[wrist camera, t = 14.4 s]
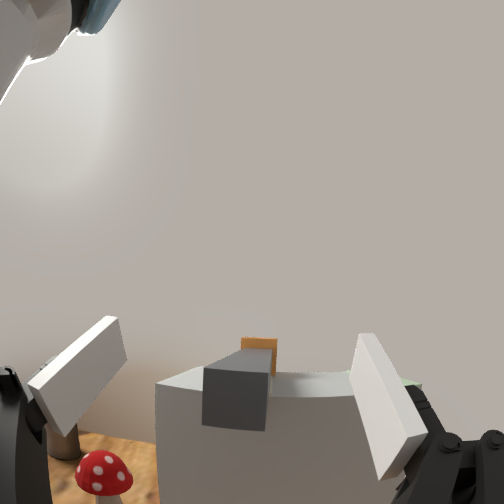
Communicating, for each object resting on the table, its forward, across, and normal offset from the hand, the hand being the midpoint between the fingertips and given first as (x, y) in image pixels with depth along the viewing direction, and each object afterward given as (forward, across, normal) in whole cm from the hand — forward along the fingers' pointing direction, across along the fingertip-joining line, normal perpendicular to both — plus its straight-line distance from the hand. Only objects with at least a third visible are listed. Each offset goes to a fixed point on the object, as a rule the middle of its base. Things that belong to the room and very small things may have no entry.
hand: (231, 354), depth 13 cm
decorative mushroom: (-1, +21, +40) cm, 45 cm away
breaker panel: (0, -4, +40) cm, 40 cm away
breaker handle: (+10, 0, +11) cm, 15 cm away
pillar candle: (+12, +44, +47) cm, 65 cm away
